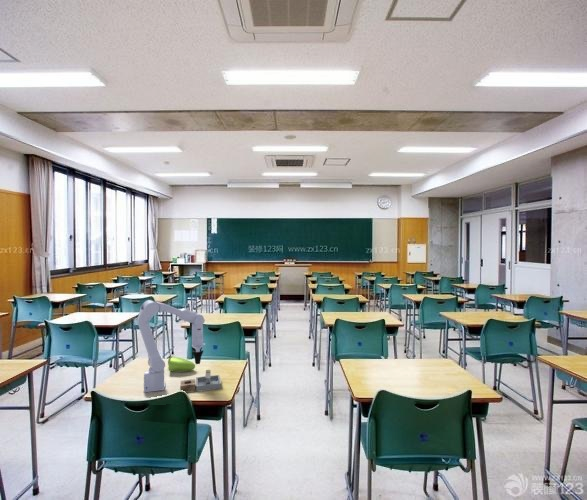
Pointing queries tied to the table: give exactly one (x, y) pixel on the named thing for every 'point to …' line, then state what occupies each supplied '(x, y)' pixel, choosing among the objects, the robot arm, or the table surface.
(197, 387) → the tray
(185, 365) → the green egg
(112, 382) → the table surface
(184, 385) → the pin block
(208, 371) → the pin
